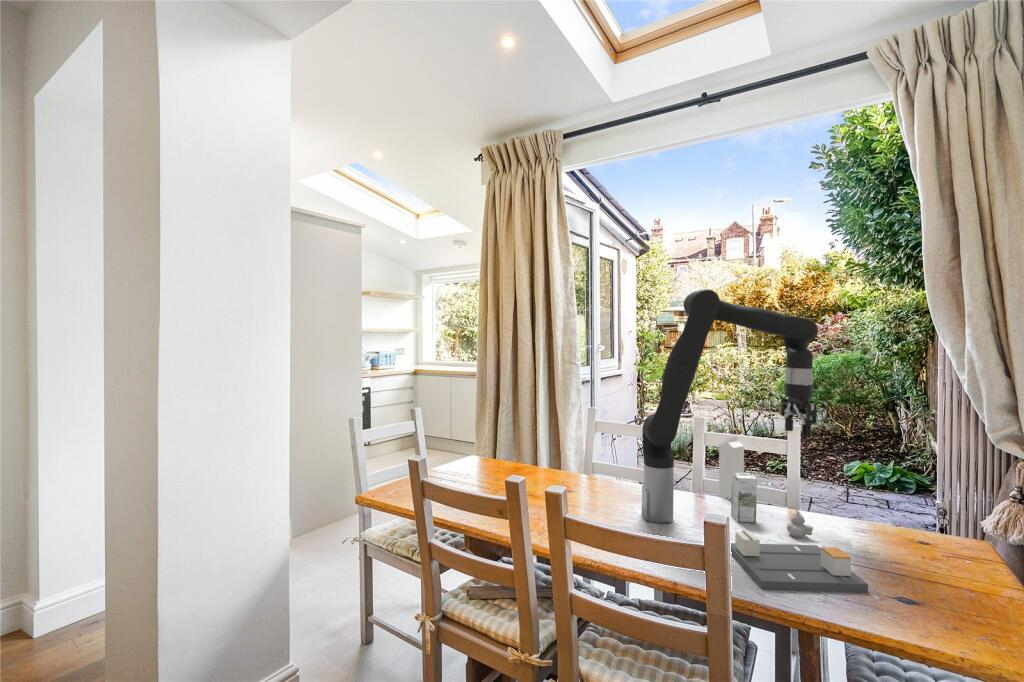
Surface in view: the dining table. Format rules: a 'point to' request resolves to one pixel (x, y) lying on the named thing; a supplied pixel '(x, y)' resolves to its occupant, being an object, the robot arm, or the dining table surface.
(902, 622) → the dining table surface
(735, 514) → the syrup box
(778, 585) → the fader console
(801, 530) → the grey figurine
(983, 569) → the dining table surface
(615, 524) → the dining table surface
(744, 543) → the cream cap
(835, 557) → the orange fader cap
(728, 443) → the milk
